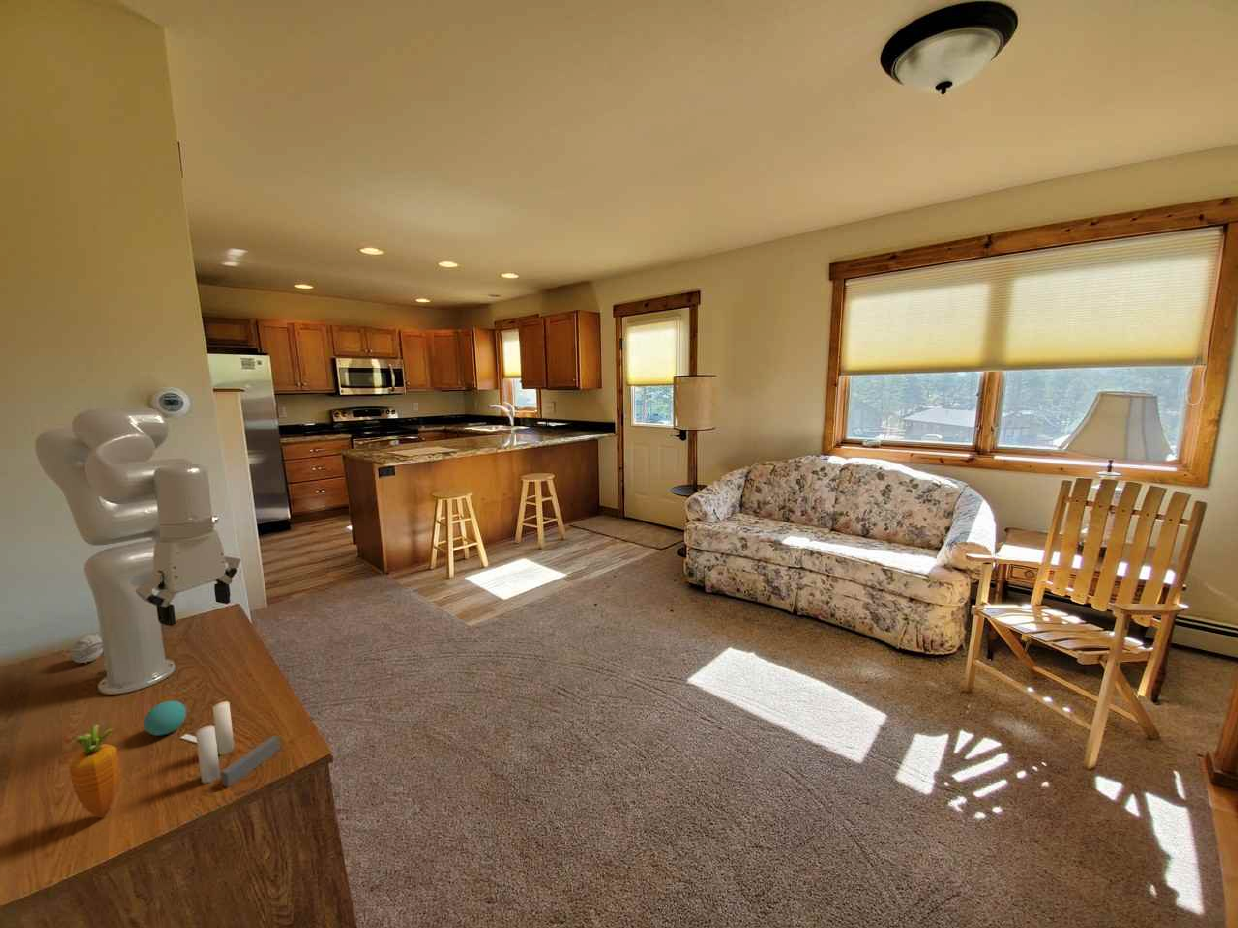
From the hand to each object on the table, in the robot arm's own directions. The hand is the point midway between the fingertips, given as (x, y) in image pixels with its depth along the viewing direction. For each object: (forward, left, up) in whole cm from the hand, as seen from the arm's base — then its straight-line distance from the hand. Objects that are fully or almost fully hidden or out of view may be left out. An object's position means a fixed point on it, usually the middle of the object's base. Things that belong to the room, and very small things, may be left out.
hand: (197, 613), depth 94 cm
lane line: (+5, -5, -23) cm, 24 cm away
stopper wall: (+21, -6, -23) cm, 31 cm away
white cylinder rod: (+16, -10, -23) cm, 30 cm away
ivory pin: (+12, -5, -23) cm, 26 cm away
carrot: (+9, -21, -23) cm, 32 cm away
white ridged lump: (-51, +6, -23) cm, 57 cm away
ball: (-4, -5, -20) cm, 21 cm away
